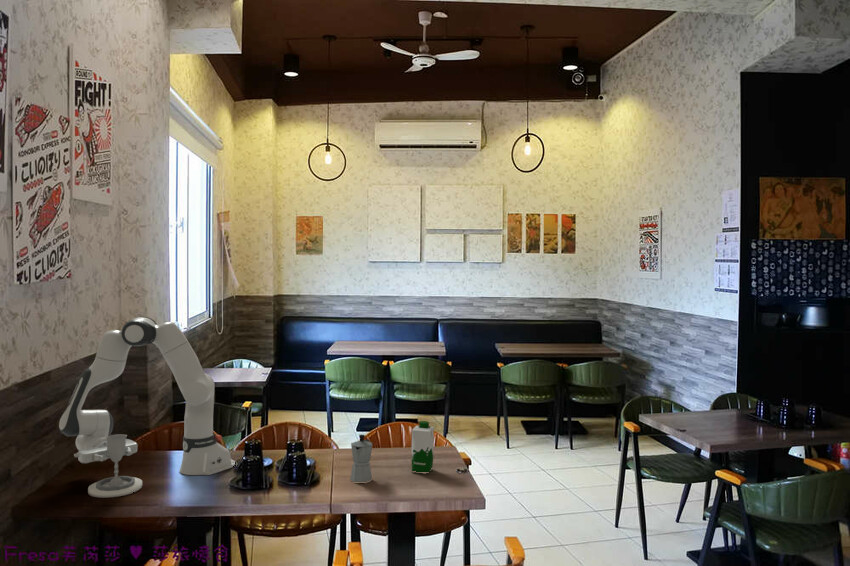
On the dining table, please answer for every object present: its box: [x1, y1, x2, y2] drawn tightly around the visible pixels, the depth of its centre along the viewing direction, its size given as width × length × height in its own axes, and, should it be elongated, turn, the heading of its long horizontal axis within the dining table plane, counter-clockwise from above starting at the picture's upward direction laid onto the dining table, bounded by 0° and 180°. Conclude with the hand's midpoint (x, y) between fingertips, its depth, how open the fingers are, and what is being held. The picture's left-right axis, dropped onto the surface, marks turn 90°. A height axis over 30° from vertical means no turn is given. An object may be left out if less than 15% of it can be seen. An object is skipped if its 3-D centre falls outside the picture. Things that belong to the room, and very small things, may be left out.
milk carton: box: [411, 420, 435, 472], centre depth 255 cm, size 9×9×20 cm
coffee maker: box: [349, 434, 373, 483], centre depth 243 cm, size 15×9×18 cm, turn 168°
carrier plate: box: [87, 475, 143, 499], centre depth 228 cm, size 18×18×3 cm
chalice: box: [106, 433, 128, 487], centre depth 228 cm, size 7×7×18 cm
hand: (117, 455), depth 227 cm, fingers open, 8 cm apart
